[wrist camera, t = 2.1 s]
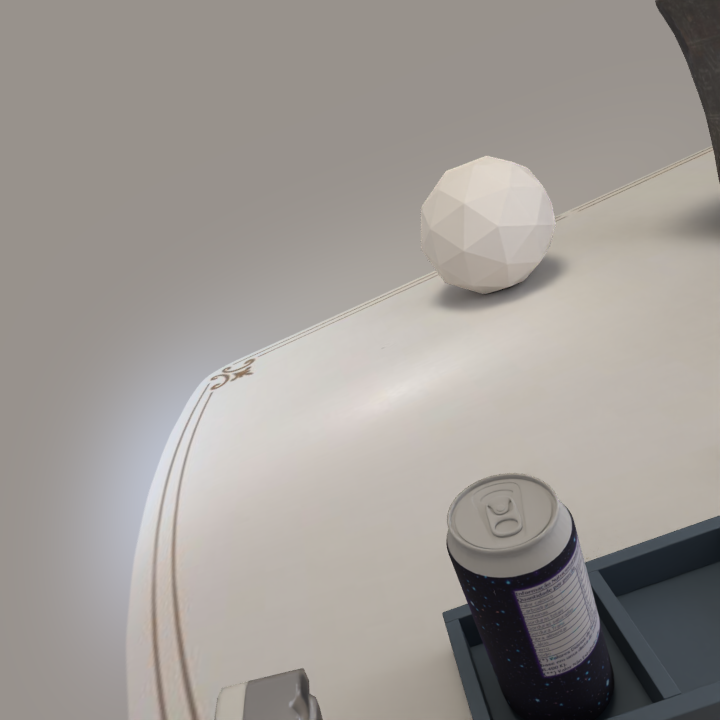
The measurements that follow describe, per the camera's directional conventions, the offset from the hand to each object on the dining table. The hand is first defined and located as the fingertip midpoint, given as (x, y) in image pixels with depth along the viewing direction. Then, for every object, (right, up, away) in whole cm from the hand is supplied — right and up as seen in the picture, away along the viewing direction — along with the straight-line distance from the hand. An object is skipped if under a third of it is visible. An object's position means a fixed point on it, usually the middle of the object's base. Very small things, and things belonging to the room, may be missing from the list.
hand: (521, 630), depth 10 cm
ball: (+19, +16, +75) cm, 79 cm away
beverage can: (+7, -12, +19) cm, 23 cm away
